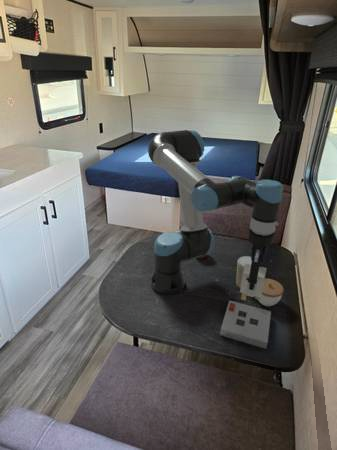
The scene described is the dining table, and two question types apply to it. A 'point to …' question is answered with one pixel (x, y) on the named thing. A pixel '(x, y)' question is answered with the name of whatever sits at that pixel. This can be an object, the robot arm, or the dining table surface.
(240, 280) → the coffee cup
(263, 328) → the socket
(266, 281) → the lidded jar
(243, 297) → the plug
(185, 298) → the dining table surface
